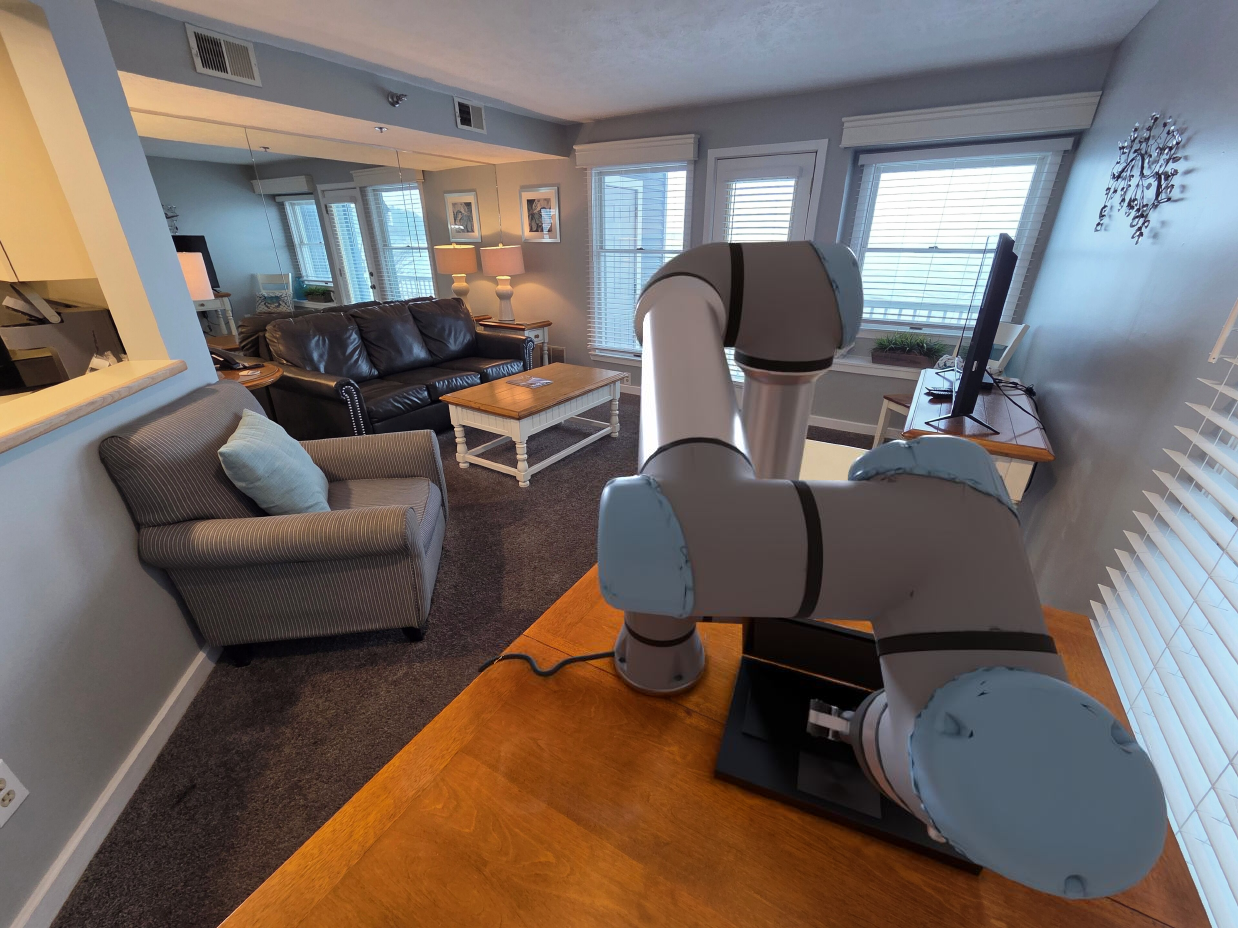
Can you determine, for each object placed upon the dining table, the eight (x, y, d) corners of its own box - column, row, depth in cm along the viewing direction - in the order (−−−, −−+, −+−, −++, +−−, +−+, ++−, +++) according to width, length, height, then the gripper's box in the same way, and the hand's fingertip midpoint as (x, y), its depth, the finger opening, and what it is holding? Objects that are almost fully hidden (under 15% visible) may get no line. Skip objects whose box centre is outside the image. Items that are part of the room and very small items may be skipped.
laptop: (978, 876, 56) (984, 866, 55) (713, 777, 66) (714, 768, 66) (946, 721, 74) (950, 712, 73) (740, 662, 84) (741, 654, 83)
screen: (1010, 674, 57) (1009, 666, 57) (741, 607, 67) (743, 601, 67) (949, 712, 73) (949, 706, 73) (741, 654, 83) (743, 649, 84)
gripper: (807, 778, 32) (787, 750, 53) (1055, 863, 28) (928, 796, 48) (823, 657, 35) (798, 675, 55) (1051, 718, 30) (932, 713, 51)
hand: (858, 732), depth 52 cm, fingers closed
